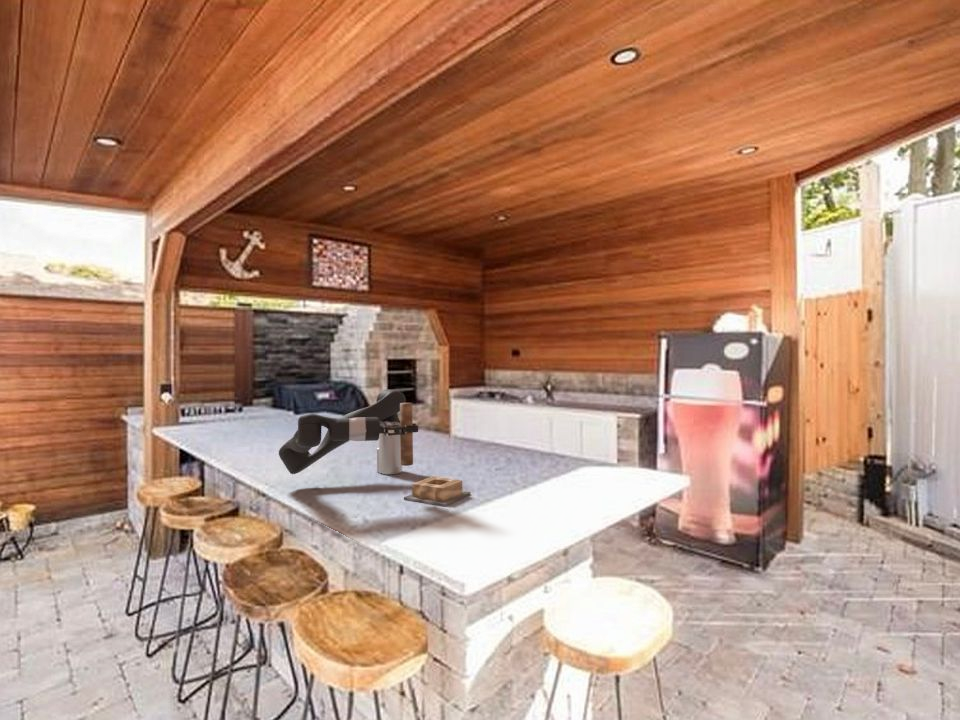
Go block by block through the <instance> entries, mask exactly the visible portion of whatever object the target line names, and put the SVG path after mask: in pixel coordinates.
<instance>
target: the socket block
mask: <svg viewBox="0 0 960 720" xmlns="http://www.w3.org/2000/svg"><path fill="white" fill-rule="evenodd" d="M411 489H412V492H411V494H409V495H406V496H404V497H403V500H404V501H409V502H416V503H422V504H426V505H427V504H429V505H432V506H433V505H434V506H438V507H439V506H441V507H447V506H449V505H451V504H453V503H456V502H458V501H460V500H462V499H464V498H466V497H468V496H471V491H466V490H463V480H462V479H457V478H456V479H455V478H450V477H440V476H430V477H427V478H424V479H422V480H419V481H416V482H414V483H412V484H411Z"/></svg>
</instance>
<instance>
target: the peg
mask: <svg viewBox="0 0 960 720" xmlns="http://www.w3.org/2000/svg"><path fill="white" fill-rule="evenodd" d="M399 420H400V425H413V423H414V422H413V402H406V403H400V412H399ZM400 431H402V428H400ZM413 434H414V432H411V433H406V434H404V435H403V434H402V435H400V446H401V465H402V467H406V466H413V465H414V443H413V441H414V435H413Z"/></svg>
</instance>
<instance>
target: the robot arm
mask: <svg viewBox="0 0 960 720" xmlns="http://www.w3.org/2000/svg"><path fill="white" fill-rule="evenodd" d="M400 403H407V398H406V395H405V394H404V393H403V392H401V391H399V390H396V389H389V388H388V389H386V388H385V389H382V390H381V391H380V392H379V393H378V394H377V397H376V401H375V403H373V404H371V405H368V406H367V407H363V408H360V409H357V410H353V411H352V412H349V413H346V414H345V415H343V416H341V417H339V418H336V417H335V418H333V417H329V416H324V415H319V414H317V413H309V412H308V413H304V414H302V415H300V416H299V418H298V419H297V420H298V421H297V430H296V431H295V433H294V435H293V437H291V438H290V439H289V440H288V441H286V442H285V443H284V444H283V445H282V446H281V447H280V448H279V450H278V456H279V458H280V460H281V462H282V463H283V466H285V468H286V469H287V471H288V472H289V473H290V474H291V475H296V474H298V473H300V472H302V471H304V470H306V469H307V468H309V467H310V466H311V465H313V464H314V463H316V462H318V461H319V460H320V459H322V458H323V457H325V456H326V455H327V454H330V453H331V452H332V451H334V450H336V449H337V448H339V447H341V446H343V445H345V444H346V443H348V442H350V441H352V442H367V441H368V442H369V441H370V442H372V441H373V442H374V441H378V447H377V448H376V473H378V474H381V473H382V475H397V474H401V473H402V472H403V465H401V446H400V435H402V434H403V435H404V434H406V433H411V432H413V433H419V425H417V424H416V423H414V422H413V425H400V417H399V415H398V413H400ZM322 427H325V428H326V429H327V431H326V433H325V436H324V438H323V439H322ZM400 428H402V431H400ZM315 447H318V448H316V449H315V450H314V452H313V453H310V452H309V451H310V450H311V449H312V448H315Z"/></svg>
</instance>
